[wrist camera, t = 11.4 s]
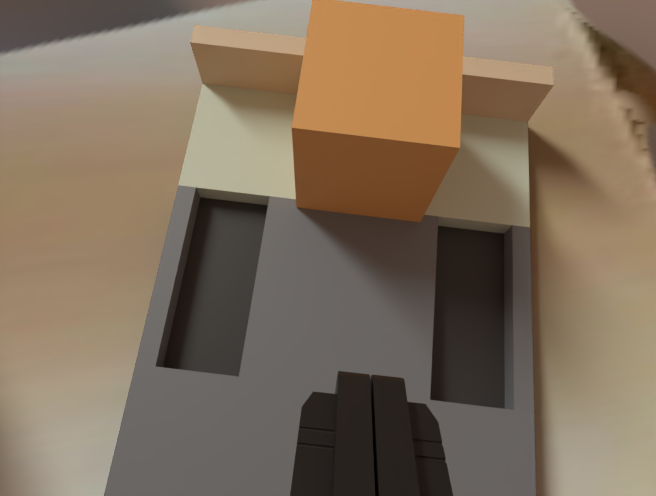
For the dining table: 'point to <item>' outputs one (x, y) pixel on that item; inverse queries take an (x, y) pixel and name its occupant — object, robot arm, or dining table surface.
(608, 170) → the dining table surface
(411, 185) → the orange block
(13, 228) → the dining table surface
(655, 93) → the dining table surface
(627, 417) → the dining table surface
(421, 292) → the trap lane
